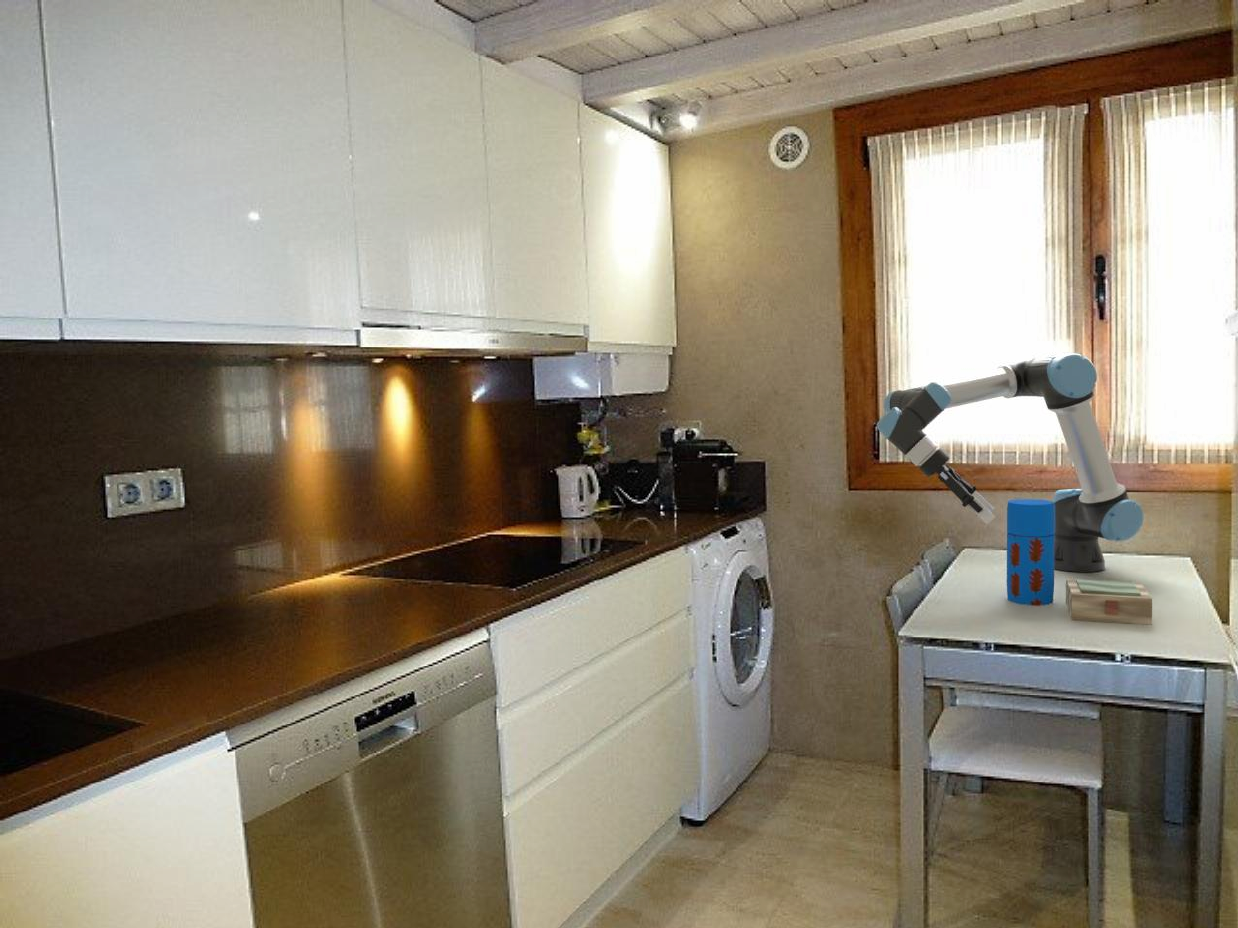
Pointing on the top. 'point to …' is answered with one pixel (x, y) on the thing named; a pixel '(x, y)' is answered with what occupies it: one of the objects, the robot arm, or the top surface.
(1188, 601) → the top surface
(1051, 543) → the thermos
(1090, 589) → the wooden box
